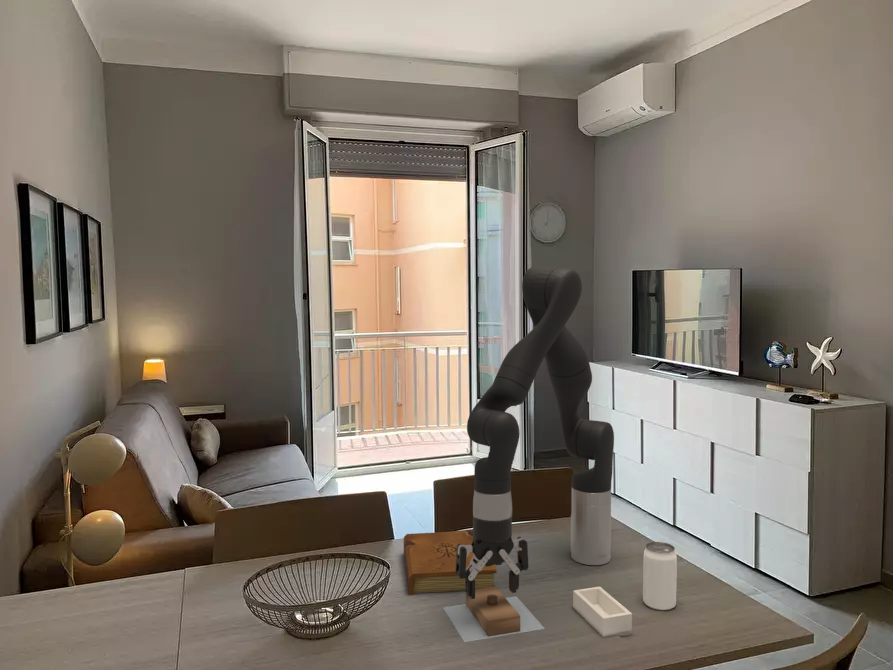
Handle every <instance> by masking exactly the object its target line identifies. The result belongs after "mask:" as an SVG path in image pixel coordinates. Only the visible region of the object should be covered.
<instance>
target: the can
mask: <svg viewBox="0 0 893 670" xmlns="http://www.w3.org/2000/svg"><path fill="white" fill-rule="evenodd" d="M675 549H676V548H675V546H674V545H672V544H670V543H667V542H664V541H650V542H647V543H646V544H645V549H644V551H643V559H642V560H643V563H642V564H643V567H642V568H643V569H642V570H643V571H642V572H643V573H642V574H643V575H642V577H643V579H642V585H643V586H642V601H643V603H644V604H645V605H646V606H647V607H648V608H650V609H653V610H657V611H670V610H672V609H674V608H675V607H676V606H677V570H678V569H677V568H678V567H677V566H678V565H677V564H678V563H677V562H678V560H677V558H678V557H677V556H678V555H677V554H676V553H677V552H675V551H676V550H675Z"/></svg>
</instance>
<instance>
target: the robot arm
mask: <svg viewBox="0 0 893 670" xmlns="http://www.w3.org/2000/svg"><path fill="white" fill-rule="evenodd" d="M521 288H522V291H521V292H522V296H523V300H524V304H525V307H526V309H527V312H528V314H529V317H530V319H531V322H532V324H533V326H534V328H533V329H532V330H531V331H529V332H528V333H527V334H526V335H525V336H524V337H522V338H521V339H520V340H519V341H518V342H517V343H516V344H514V345H513V347H511V348H510V350H509V351H508V352H507V353H506V355H505V357H504V358H503V360H502V362H501V364H500V366H499V369H498V372H497V373H496V376H495V378H494V379H493V383H492V384H491V386H490V387H489V388H488V389H487V390H486V392H485V393H484V394H483V395H482V396H481V398H480V399H479V400H478V402H476V404H475V406H474V407H473V408H472V410H471V412H470V414H469V416H468V418H467V422H466V423H467V424H466V431H467V436H468V437H469V439H470V440H471V441H472V442H473V443H476V444H477V445H481V446H484V447H485V446H487V447H489V451H488V455H487V457H482V458H479V459H478V460H477V461H476V462H475V465H474V474H473V475H474V476H473V477H474V478H473V479H474V482H473V483H474V484H473V486H474V489H473V499H472V531H473V542H472V544H471V545H462V544H461V543H460V544H458V545H457V553H456V570H455V572H456V573H457V574H458V576H459V577H460V578H461V579H463V578H464V579H465V590H464V592H465V595H466V594H467V595H468V596H469V597H470V598H471V599H475V580H474V578H475V576H476V575H477V573H478V572H480V571H481V570H482V568H483V567H484V565H485V566H486V567H487V566H492V565H495V566H502V565H503V563H505V564H506V566H507V567H508V568H509V569H510V570H509V571H508V590H509V592H511V593H512V594H516V593H517V591H518V590H519V588H520V573H521V572H522V571H528V570H529V552H528V550H529V549H528V541H527V540H525V538H523V537H522V536H520V535H519V536H518V537H517V538H516V539H513V538H512V535H513V509H514V508H513V500H512V499H513V498H512V486H511V485H512V484H511V483H512V482H511V481H512V480H511V478H512V474H511V473H512V472H511V471H512V466H513V464H514V460H515V457H516V456H515V455H516V453H517V449H518V445H519V440H520V435H521V434H520V433H521V432H520V425H519V424H518V423H519V422H518V420H517V418H516V417H515V416H514V415H513V414H511V413H509V412H507V410H508V409H509V408H511V407H516V406H520V405H522V404H523V403H524V402H525V400H526V398H527V397H528V394H529V392H530V389H531V387H532V384H533V383H534V381H535V378H536V376H537V372H538V371H539V368H540V367H541V364H542V363H543V361H545V366H546V369H547V373H548V377H549V380H550V384H551V387H552V391H553V394H554V397H555V400H556V404H557V407H558V413H559V419H560V423H561V430H562V437H563V443H564V445H565V449H566V451H567V453H568V454H569V456H571V457H574V458H576V459H583V460H591V461H594V463H593V464H594V465H593V467H592V468H587V469H584V470H580V471H576V472H575V473H574V474H573V475H572V476H571V514H570V553H571V555H570V557H571V559H572V560H573V561H575V562H577V563H578V564H583V565H589V566H602V565H606V564H608V563H610V562H611V559H612V558H611V554H612V553H611V552H612V551H611V550H612V549H611V547H612V546H611V543H612V541H611V540H612V532H611V531H612V478H613V462H614V448H615V447H614V445H615V432H614V428H613V426H612V424H611V423H610V422H607V421H603V420H602V421H600V420H592V419H583V418H582V417H581V415H580V412H579V408H580V406H581V403H582V402H583V401H584V398H585V397H586V396H587V394H588V392H589V390H590V388H591V386H592V383H593V372H592V370H591V364H590V360H589V357H588V354H587V351H586V349H585V348H584V346H583V345H582V343H581V342H580V341H579V340H578V338H577V337H576V336H575V335H574V334H573V332H572V331H570V329H568V327H567V326H566V324H567V323H568V321H569V319H570V318H571V316H572V314H573V313H574V311H575V310H576V308H577V306H578V304H579V302H580V299H581V295H582V290H583V282H582V279H581V276H580V274H579V273H578V271H576V270H575V269H572V268H566V267H557V266H556V267H555V266H547V265H535V266H531V267H530V268H528V269H527V270H526V272H525V273H524V275H523V278H522V284H521ZM514 548H515V550H516V552H517V553H516V554H517V562H516V563H515V561H514V560H513V559H512V558H511V557H510V554H511V552H512V551H513V549H514ZM471 551H472V552H473V553H474V554H475V555H474V556H473V558H472V559H471V561H470V564H469V566H468V567H467V569H466V557H468V556H469V553H470V552H471ZM478 561H479V562H478Z"/></svg>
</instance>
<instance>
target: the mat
mask: <svg viewBox="0 0 893 670" xmlns="http://www.w3.org/2000/svg"><path fill="white" fill-rule="evenodd" d="M505 598H506V599H507V601H508V602H509V603H510V604H511V605H512V607H513V608H514V609H515V610H516V611H517V613H518V614H519V615H520V631H519V632H513V633H507V634H501V635H495V636H489V637H488V635H487V634H486V633H485V631H484V630H483V628H482V627H481V625H480V624H479V623H478V621H477V620H476V618H475V617H474V615H473V614H472V613H471V611H470V610H469V608H468V607H467V605H466V603H462V604H456V605H450V606H443V607H442V609H443V610H444V612H445V613H446V615H447V616H448V619H449V620H450V621H451V624H452V625H453V626H454V628H455V630H456V631H457V633H458V634H459V636H460V637H461V640H462V641H463V642H464V643H469V642H475V641H481V640H486V639H493V638H498V637H503V636H504V637H505V636H511V635H517V634H522V633H528V632H533V631H534V632H535V631H540V630H545V629H546V628H545V627H544V626H543V625H542V623H541V622H540V621H539V620H538V619H537V618H536V616H534V615H533V613H531V611H530V610H529V609H528V607H526V605H525V604H524V603H523V602H522V600H520V599H519V598H518V596H517V595H516V596H515V595H514V596H510V597H505Z"/></svg>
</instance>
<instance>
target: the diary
mask: <svg viewBox="0 0 893 670" xmlns="http://www.w3.org/2000/svg"><path fill="white" fill-rule="evenodd" d="M472 542H473V530H459V531H439V532H438V531H437V532H422V533H421V532H420V533H406V534H405V536H404V537H403V558H404V563H405V564H404V565H405V573H406V580H407V586H408V587H407V588H408V595H409V596H413V595H414V594H417V593H419V594H420V593H435V592H440V593H441V592H455V591H457V592H458V591H465V579H464V578H463V579H461V578H460V577H459V576H458V574H457V573H456V572H455V570H456V553H457V545H458V544H460V543H461V544H462V545H471V544H472ZM474 555H475V554H474V553H473V552H472V551H471V552H470V553H469V556H468V557H466V569H467V567H468V566H469V564H470V561H471V559H472V558H473V556H474ZM478 562H479V561H478ZM496 566H497V565H492V566H487V567H486V566H485V565H484V567H483V568H482V570H481V571H480V572H478V573H477V575H476V576H475V578H474V580H475V589H482V588H489V587H495V586H494V585H495V584H494V574H497V573H498V569H497V567H496Z"/></svg>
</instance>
